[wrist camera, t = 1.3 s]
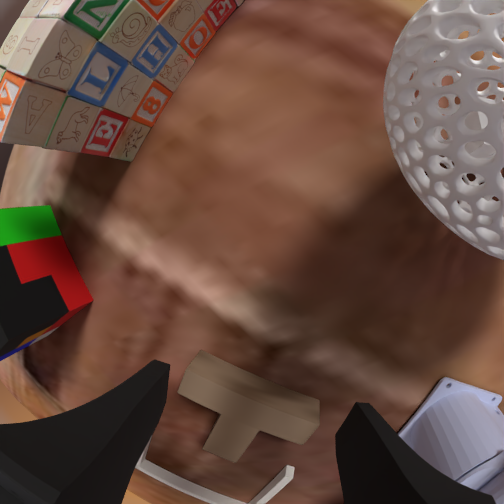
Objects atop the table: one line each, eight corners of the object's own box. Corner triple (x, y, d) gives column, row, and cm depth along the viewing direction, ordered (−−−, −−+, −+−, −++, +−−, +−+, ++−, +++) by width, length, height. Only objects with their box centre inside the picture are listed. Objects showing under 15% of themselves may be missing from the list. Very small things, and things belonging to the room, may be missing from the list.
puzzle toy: (48, 335, 25) (-17, 370, 15) (12, 256, 25) (-55, 273, 15) (94, 299, 23) (8, 340, 13) (50, 205, 22) (-36, 212, 13)
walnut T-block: (319, 400, 20) (319, 424, 17) (278, 453, 22) (274, 476, 19) (200, 349, 21) (186, 368, 18) (177, 410, 23) (163, 430, 20)
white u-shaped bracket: (294, 467, 22) (293, 478, 20) (251, 507, 24) (249, 516, 22) (152, 406, 23) (145, 415, 22) (138, 458, 25) (132, 466, 24)
